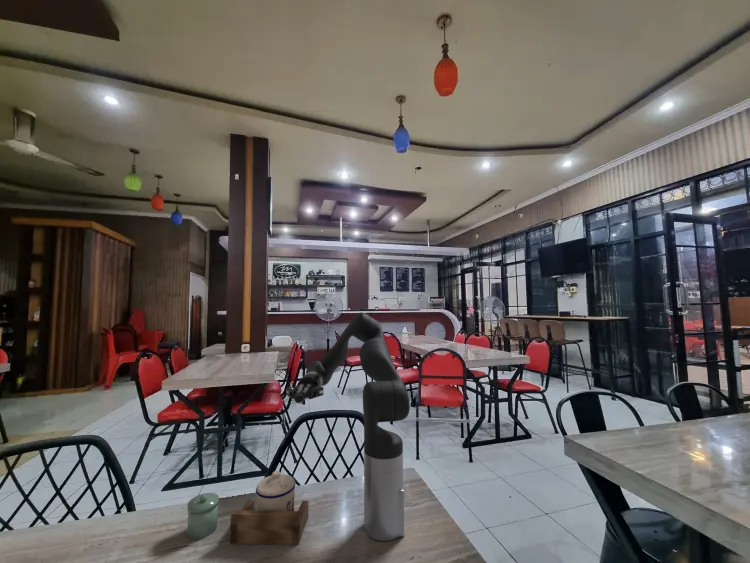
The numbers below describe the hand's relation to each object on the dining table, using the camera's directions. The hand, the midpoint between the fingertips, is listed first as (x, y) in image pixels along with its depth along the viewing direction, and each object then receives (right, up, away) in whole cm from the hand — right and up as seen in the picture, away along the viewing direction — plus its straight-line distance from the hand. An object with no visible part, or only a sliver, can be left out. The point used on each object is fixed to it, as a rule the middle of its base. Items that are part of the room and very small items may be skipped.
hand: (298, 399), depth 98 cm
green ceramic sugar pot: (-17, -21, -24) cm, 36 cm away
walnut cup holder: (-1, -21, -24) cm, 32 cm away
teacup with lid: (0, -22, -20) cm, 30 cm away
